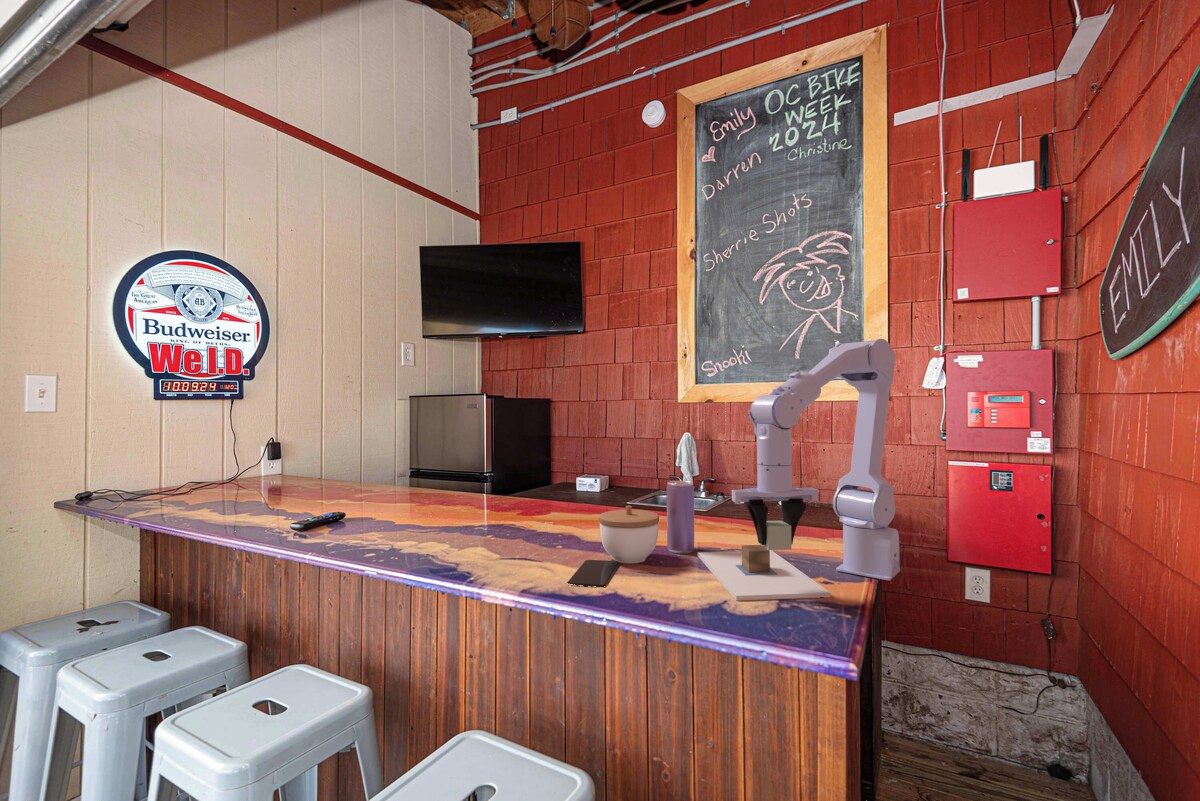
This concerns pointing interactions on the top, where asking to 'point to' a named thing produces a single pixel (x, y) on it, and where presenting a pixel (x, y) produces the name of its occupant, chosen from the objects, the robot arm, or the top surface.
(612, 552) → the lidded bowl
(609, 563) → the smartphone
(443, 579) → the top surface
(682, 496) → the beverage can
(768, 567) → the walnut block
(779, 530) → the sage block
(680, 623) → the top surface
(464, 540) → the top surface
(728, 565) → the white flat panel
